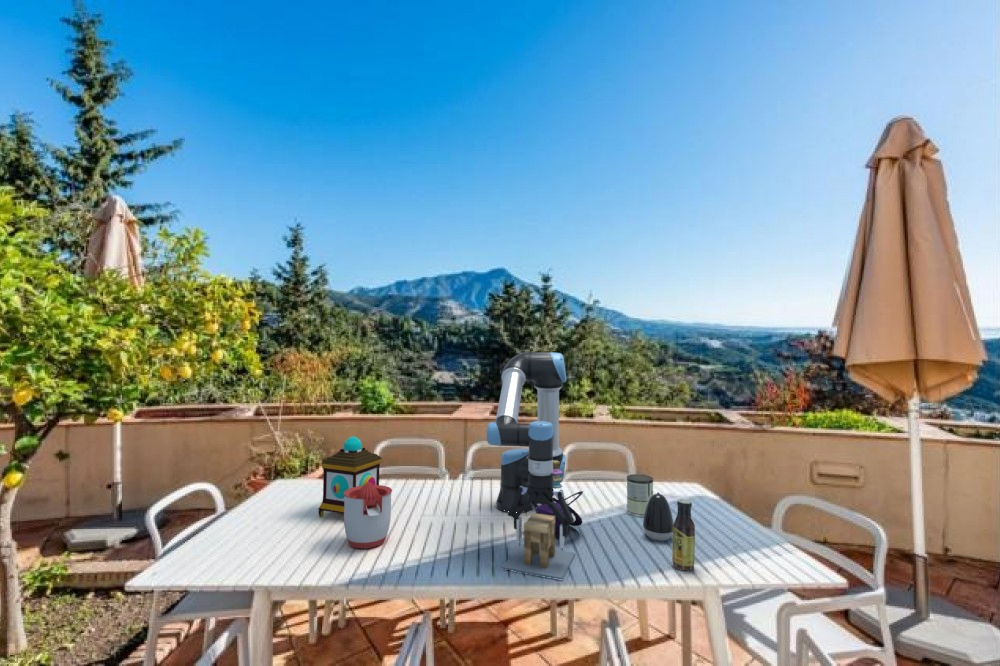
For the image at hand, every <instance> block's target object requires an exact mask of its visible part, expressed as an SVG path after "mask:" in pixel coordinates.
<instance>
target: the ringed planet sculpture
mask: <svg viewBox="0 0 1000 666" xmlns="http://www.w3.org/2000/svg"><path fill="white" fill-rule="evenodd" d="M559 465H560V462H559V461H558V460H556V461H554V460H553V472H552V474H553V475H558V474H562V473H563V472H562V471H561V470H559ZM561 480H563V481H564V478H563V479H562V478H561V477H560V476H553V481H554V482H553V490H554V489H555V490H556V489H561V488H562V487H563V485H562V484H561V483H559V482H557V481H561ZM583 494H584V491H578V492H576V493H573V494H571V495H569V496H567V497H566V498H564V499H565V501H566V500H568V499H570V498H572V497H575V496H576V497H575V498H573V499H572V500H571V501H570V502H569V503H567V506H568V508H569V510H570V512H571V515H572V516H574V517H575V519H574V521H573V523H572V524H571V525H569V526H570V527H571V526H572V527H579V526H582V524H583V519H582V517H581V516H580V514H578V513H577V511H575V509H573V508H572V507H571V506H570V505H571V504H572V503H574V502H575V501H576V500H578V499H579V497H581V496H582V495H583ZM529 498H530V497H529ZM552 499H553V500H554V502H555V504H556V505H557V507H558V508H559V509H560V511H561V512H562V513H563V515H564V512H563V510H562V508H561V506H560V503H559V501H558V499H557V498H556V497H554V496H553V497H552ZM531 503H532V504H533V508H535V509H536V510H535V511H536V513H537V514H545V515H552V516H555V535H557V534H560V525H561V524H562V523H561V522H560V521H559V519H558V518H557V517H556V515H555V514H554V513H553V511H552V510H551V508H550V507H548V505H547V504H545V505H541V504H535V503H534V502H533V501H532V502H531ZM564 516H565V515H564ZM565 518H566V517H565Z"/></svg>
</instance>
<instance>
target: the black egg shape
mask: <svg viewBox="0 0 1000 666" xmlns="http://www.w3.org/2000/svg"><path fill="white" fill-rule="evenodd" d="M642 522H643V523H642V526H643V529H644V532H645V534H646V535H647V536H648V537H649V538H650V539H651V540H654V541H656V540H657V542H664V541H668V540H669V539H671V538H672V537H673V525H674V518H673V514H672V510H671V507H670V504H669V502H668V500H667V498H666V497H665V495H663V494H661V493H660V491H658V492H657V493H653V495H652V496H651V498H650V499H649V501H648V503H647V506H646V510H645V514H644V517H643V519H642Z"/></svg>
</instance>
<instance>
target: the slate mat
mask: <svg viewBox="0 0 1000 666" xmlns="http://www.w3.org/2000/svg"><path fill="white" fill-rule="evenodd" d="M575 557H576V552H572V551H567V550H560V549H555V556H554V558H553V557H549V566H548V567H547V568H541V567H540V553H539V554H538V555H536V554H532V564H531V566H530V565H524V543H520V544H519V546H518V547H517V548H516V549H515V551H514V552H513V553H512V554H511V556H510V557H509V558H508V559H507V560H506V562H505V563H504V564H503V565H502V566H501V569H502V568H503V569H507V570H513V571H516V572H515V573H517V572H521V573H520V574H522V573H527V574H526V575H528V574H532V575H531V576H533V575H539V576H545V577H551V578H558V579H563V580H564V578H565V576H566V574H567V572H568V570H569V569H568V568H570V567H571V565H572V562H573V560H575ZM570 564H571V565H570ZM569 566H570V567H569ZM566 571H567V572H566ZM565 573H566V574H565ZM564 575H565V576H564ZM539 576H538V577H539ZM563 577H564V578H563Z"/></svg>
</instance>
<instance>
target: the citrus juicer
mask: <svg viewBox="0 0 1000 666" xmlns="http://www.w3.org/2000/svg"><path fill="white" fill-rule="evenodd" d="M392 492H393V490H392V488H391V487H389V486H386V485H382V484H379V485H372V484H371V483H370V482H367V483H366V484H365V485H363V486H357V487H353V488H350V489H348V490H346V491H345V492H344V495H345V498H344V514H343V527H344V532H345V537H346V540H347V542H348V543H347V544H348V545H349V546H350V547H351V548H354V549H357V548H361V549H372V548H376V547H378V546H381V545H383V544H384V543H385V541H386V540H387V536H388V532H389V529H390V524H391V519H392V518H391V515H392V514H391V513H392Z"/></svg>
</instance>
